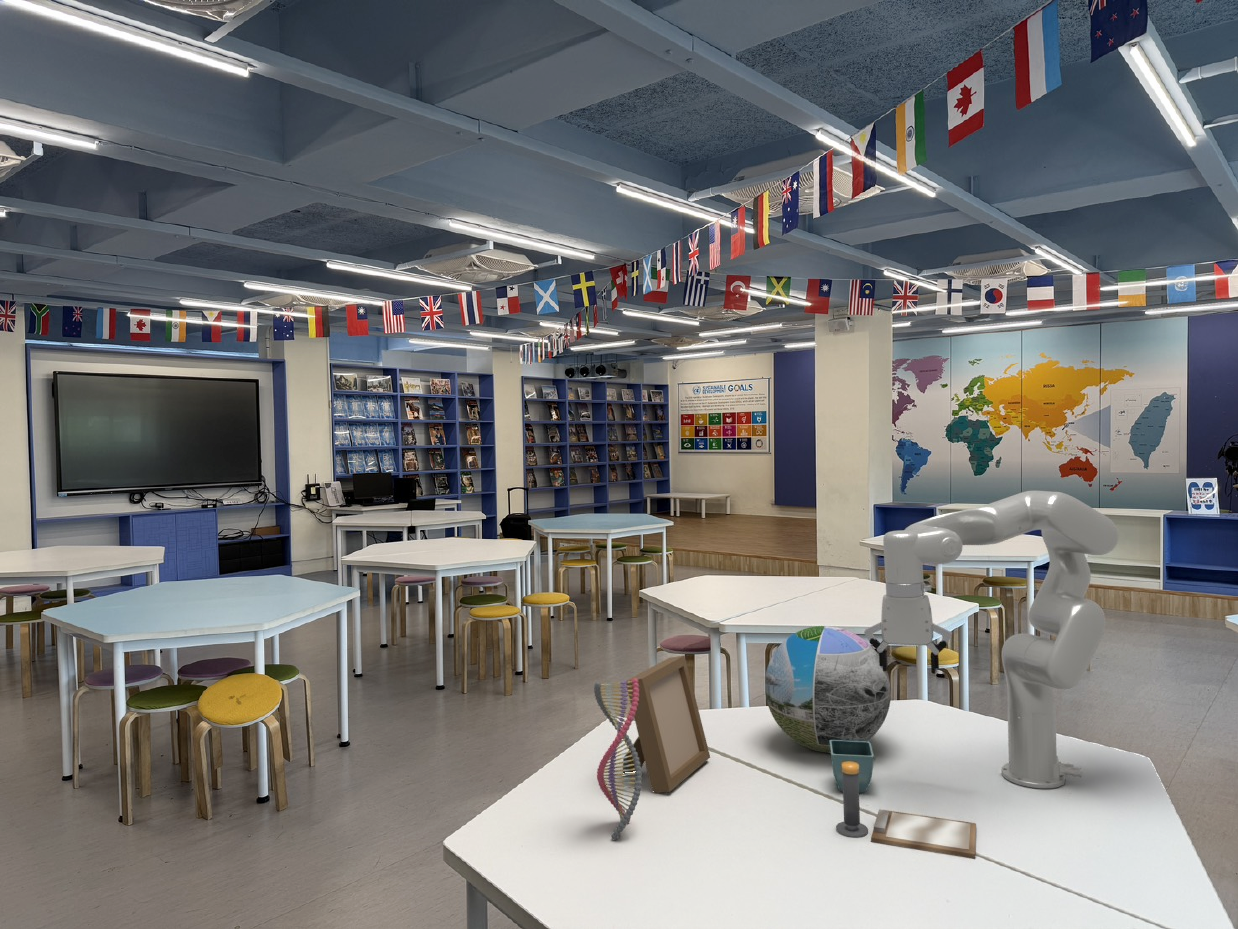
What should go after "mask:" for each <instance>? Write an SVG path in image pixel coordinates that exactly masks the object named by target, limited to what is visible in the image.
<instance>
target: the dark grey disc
mask: <svg viewBox="0 0 1238 929" xmlns="http://www.w3.org/2000/svg"><path fill="white" fill-rule="evenodd" d="M835 830H836V832H837V833H838V834H840V835H842V836H844V837H848V838H857V839H858V838H862V837H863V838H864V837H865V836H867V835H868V834H869V828H868V827H867V826H866V825H865V824H863V823H862V822H860V824H859V825H858V830H857V831H849V830H847V829H846V824H845V823H844V821H841V822H839V823H837V824H836V825H835Z"/></svg>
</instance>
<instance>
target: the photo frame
mask: <svg viewBox="0 0 1238 929" xmlns="http://www.w3.org/2000/svg"><path fill="white" fill-rule="evenodd" d="M634 678H637V679H638V684H639V688H638V689H639V697H638V698H639V701H638V706H637V711H636V712H635V716H634V719H633V720H634V722H635V726H636V730H637V734H638V736H637V738H636V739H635V741H634V742H633V744H634V748H636V752H637V753H638V757H639V762H640V764H641V765H640V767H641V770H642V768H643V766H644V764H645V767H646V771H647V775H648V778H649V783H650V788H651V792H652V791H654V792H657V793H658V794H659V793H660V794H661V793H669V792H671V791H673V790H674V789H675V788H676V787H677V786H678V785H680V784H681V783H682V782H683V781H685V779H687V778H688V777H690V776H691V774H692V773H694V772H695V771H696V770H697V769H699V768H700V767H701V766H702V765H703V764H704V763H706V762H707V761H708V760H709V759H710V758H711V756H710V751H709V748H708V742H707V739H706V734H705V730H704V726H703V723H702V718H701V716H700V715H701V714H700V710H699V706H698V703H697V699H696V696H695V690H694V688H693V684H692V679H691V676H690V671H689V667H688V663H687V660H686V655H685V654H684V655H679V656H671V657H667V658H666V659H664V660H662V661H661V662H658V663H657V664H655V665H653V666H652V667H649V668H648V669H645V670H644V671H642V672H640V673H639V674H636V675H634V676H633V677H630V678H629V679H627V680H626V681H627V682H628V681H632V679H634ZM625 685H627V686H632V685H633V684H632V683H627V684H625ZM626 689H627V690H633V687H629V688H626ZM627 694H633V691H631V692H627ZM628 697H629V698H628V699H632V698H633V696H628ZM629 701H630V702H629V703H632V702H633V701H631V700H629ZM630 755H631V753H627V754H624V756H623V757H626V756H630ZM632 759H633V758H632V757H627V758H624V759H622V760H623V761H627V760H632ZM623 761H622V762H623ZM629 764H634V762H633V761H630V762H627V763H622V766H625V765H629ZM634 768H635V766H628V767H622V770H624V769H634ZM633 771H635V770H631V771H622V774H623V773H625V772H633Z"/></svg>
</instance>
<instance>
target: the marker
mask: <svg viewBox="0 0 1238 929" xmlns="http://www.w3.org/2000/svg"><path fill="white" fill-rule="evenodd" d="M842 772H843V791H842V796H843V797H842V798H843V800H842V801H843V806H842V807H843V822H844V823H845V824H846V829H847V830H849V831H857V830H858V825H859V824H860V823H861V819H860V818H861V817H860V816H861V814H860V813H861V812H860V811H861V810H860V808H861V807H860V792H859V764H858V763H856V762H850V761H847V762H843V763H842Z"/></svg>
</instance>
